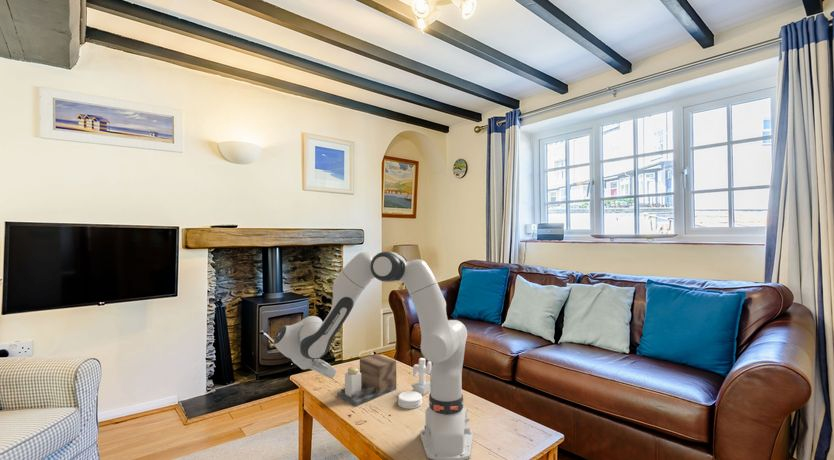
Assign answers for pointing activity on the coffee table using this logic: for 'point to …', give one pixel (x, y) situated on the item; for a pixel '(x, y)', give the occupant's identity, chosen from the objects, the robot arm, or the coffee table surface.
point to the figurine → (421, 376)
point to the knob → (352, 381)
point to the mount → (373, 379)
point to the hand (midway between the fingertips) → (328, 374)
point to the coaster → (410, 399)
